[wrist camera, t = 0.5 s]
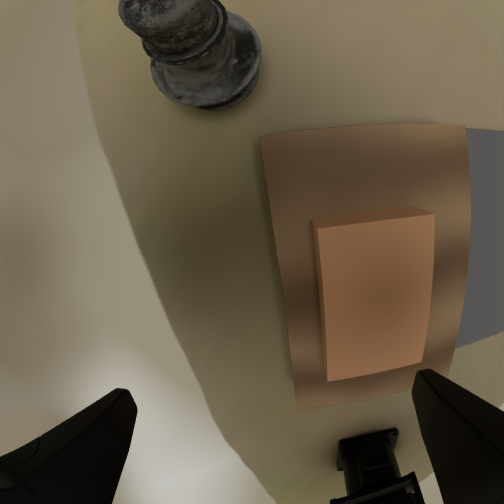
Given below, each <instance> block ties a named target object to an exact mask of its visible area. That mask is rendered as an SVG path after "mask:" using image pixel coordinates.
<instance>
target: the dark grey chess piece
mask: <svg viewBox="0 0 504 504" xmlns="http://www.w3.org/2000/svg"><path fill="white" fill-rule="evenodd" d="M118 11H119V16H120V18H121V19H122V21H123V23H124V24H125V26H127V27H128V28H129V29H131V30H132V31H133V32H135V33H136V34H137V35H138V36H140V37H141V41H142V45H143V48H144V50H145V52H146V53H147V55H148V56H150V57H151V67H150V68H151V72H152V76H153V80H154V82H155V83H156V85H157V87H158V88H159V90H160V91H161V92H162V93H164V94H165V95H166V96H167V97H168V98H169V99H172V100H174V101H176V102H178V103H180V104H184V105H190V106H195V107H197V108H199V109H204V110H209V111H212V110H223V109H226V108H230V107H233V106H234V105H236V104H238V103H240V102H241V101H243V100H244V99H245V98H246V97H247V96H248V95H249V94H250V93H251V91H252V89H253V88H254V86H255V85H256V81H257V78H258V67H259V64H260V60H261V44H260V41H259V38H258V35H257V33H256V31H255V30H254V29H253V27H252V26H251V25H250V23H248V22H247V21H246V20H244V19H243V18H242V17H240V16H239V15H236V14H233V13H231V12H228V11H226V9H225V7H224V6H223V5H222V4H221V3H220V1H218V0H119V6H118Z"/></svg>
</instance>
